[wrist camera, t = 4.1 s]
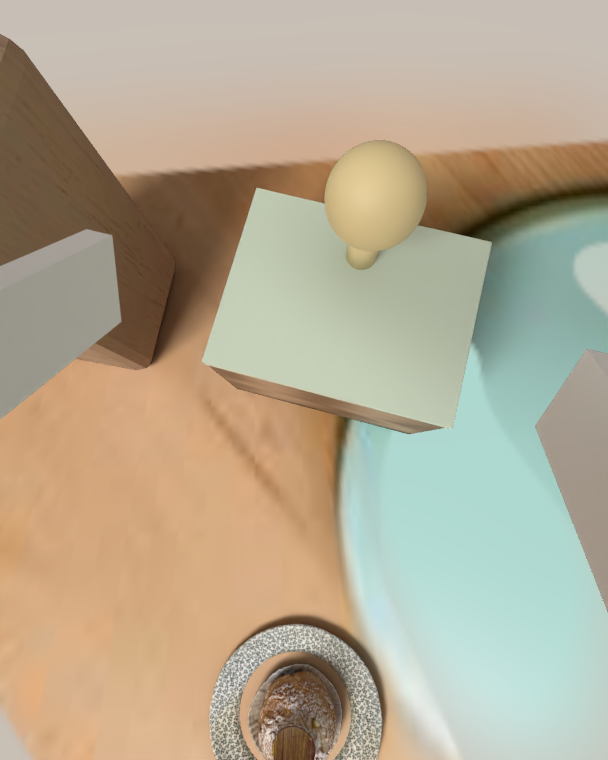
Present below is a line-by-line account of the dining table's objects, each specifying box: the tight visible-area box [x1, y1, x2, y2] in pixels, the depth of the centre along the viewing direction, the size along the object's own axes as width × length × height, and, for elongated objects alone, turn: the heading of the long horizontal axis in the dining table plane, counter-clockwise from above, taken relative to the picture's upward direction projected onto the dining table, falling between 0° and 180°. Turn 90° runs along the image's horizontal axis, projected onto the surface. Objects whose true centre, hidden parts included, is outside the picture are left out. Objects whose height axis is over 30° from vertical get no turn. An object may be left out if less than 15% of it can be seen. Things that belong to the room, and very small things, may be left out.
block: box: [0, 34, 175, 370], centre depth 25 cm, size 10×10×20 cm
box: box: [210, 366, 444, 434], centre depth 29 cm, size 14×11×9 cm
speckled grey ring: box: [209, 624, 382, 760], centre depth 28 cm, size 12×12×5 cm
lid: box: [202, 140, 492, 429], centre depth 21 cm, size 14×11×9 cm
